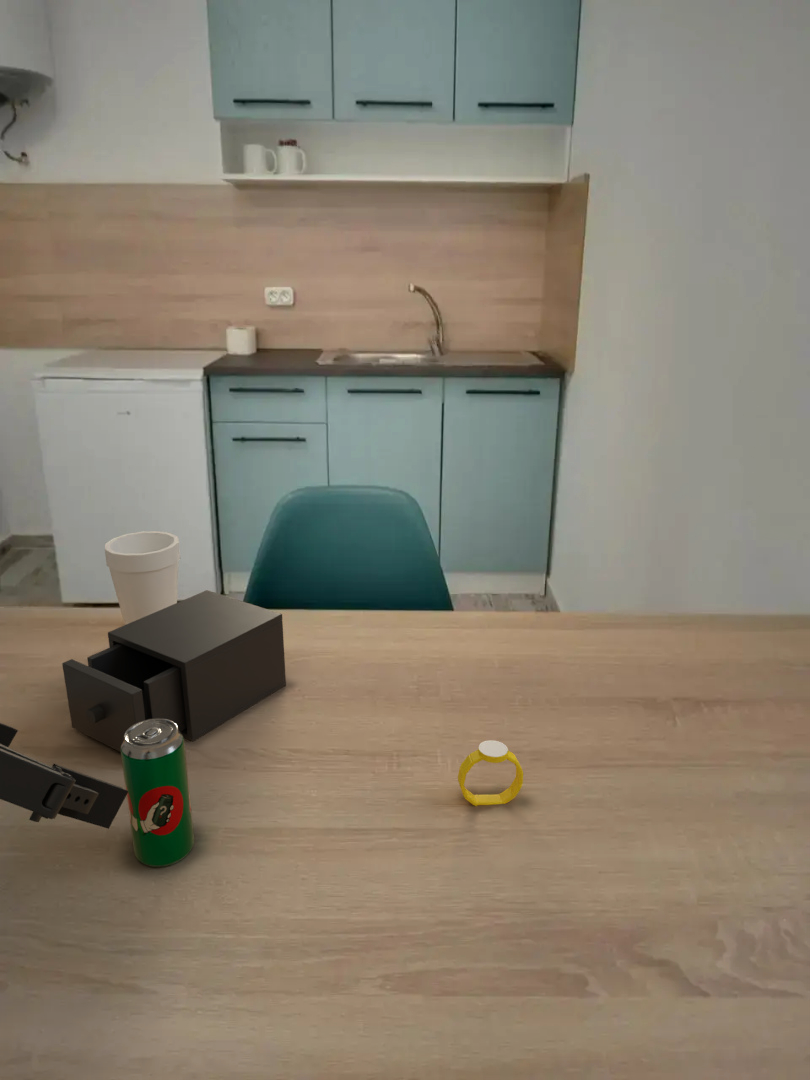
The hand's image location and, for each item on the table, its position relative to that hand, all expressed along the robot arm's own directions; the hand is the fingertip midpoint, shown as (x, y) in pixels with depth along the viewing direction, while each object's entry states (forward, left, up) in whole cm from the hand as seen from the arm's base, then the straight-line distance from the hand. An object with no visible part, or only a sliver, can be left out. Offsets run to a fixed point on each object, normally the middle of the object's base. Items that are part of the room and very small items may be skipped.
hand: (57, 774), depth 61 cm
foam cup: (-36, +36, -13) cm, 53 cm away
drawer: (-17, +21, -12) cm, 30 cm away
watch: (+20, +30, -13) cm, 39 cm away
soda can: (0, +8, -13) cm, 16 cm away
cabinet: (-17, +28, -13) cm, 36 cm away
